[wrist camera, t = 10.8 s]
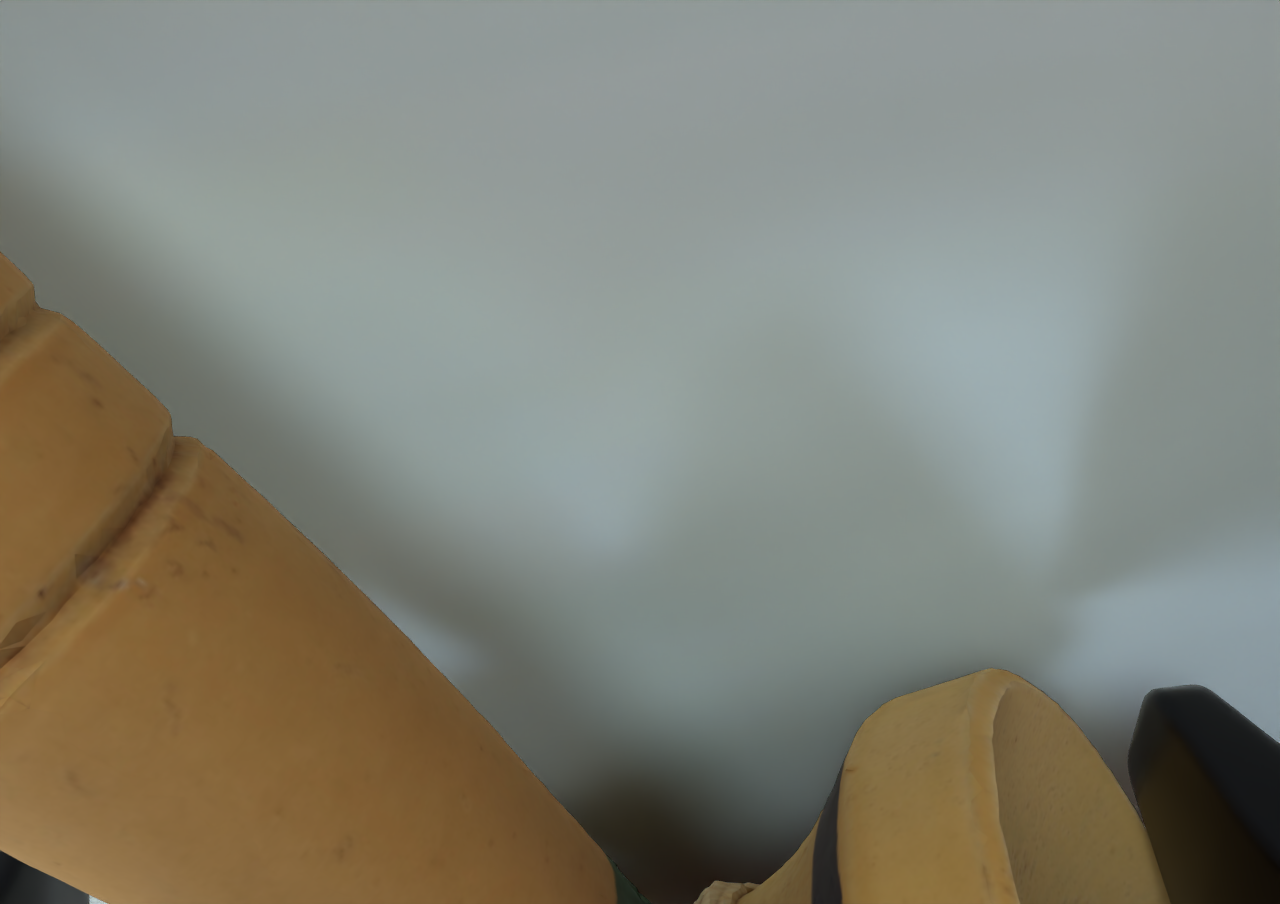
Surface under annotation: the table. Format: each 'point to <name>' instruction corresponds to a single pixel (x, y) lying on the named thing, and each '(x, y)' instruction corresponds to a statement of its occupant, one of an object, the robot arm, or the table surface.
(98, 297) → the table surface
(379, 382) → the table surface
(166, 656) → the kendama
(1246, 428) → the table surface
